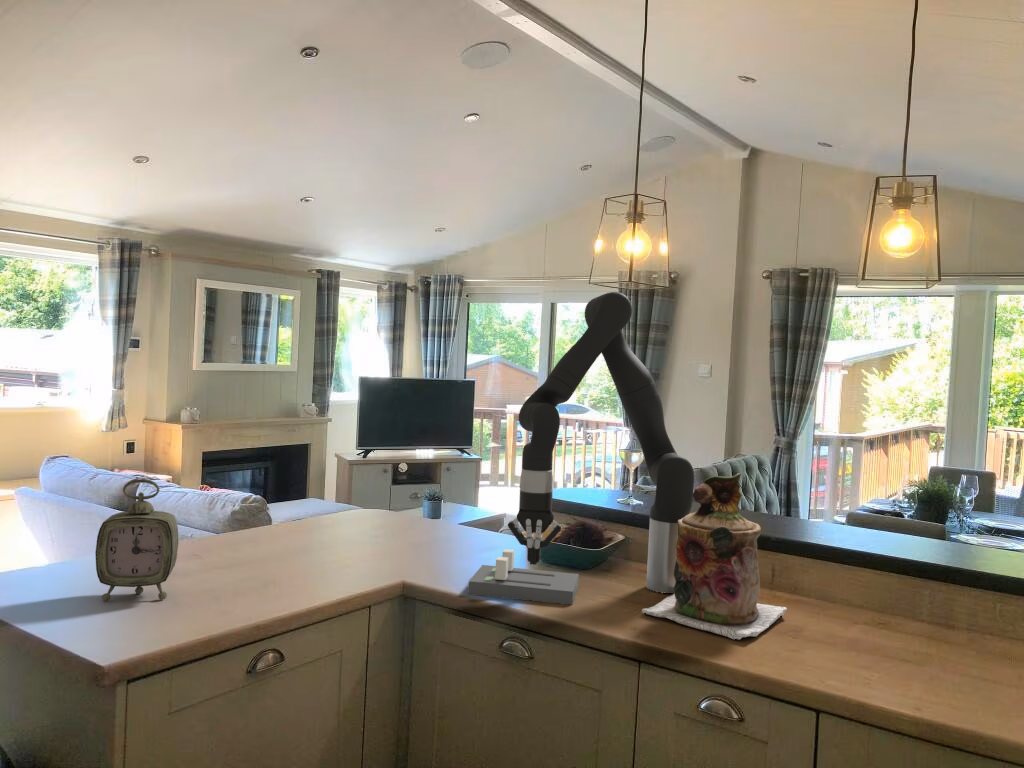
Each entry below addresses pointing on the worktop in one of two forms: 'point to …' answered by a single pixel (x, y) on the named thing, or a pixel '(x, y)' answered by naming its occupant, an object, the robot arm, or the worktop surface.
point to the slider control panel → (525, 585)
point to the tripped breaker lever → (501, 568)
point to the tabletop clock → (137, 546)
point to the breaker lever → (509, 558)
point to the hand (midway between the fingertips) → (533, 563)
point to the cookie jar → (717, 567)
